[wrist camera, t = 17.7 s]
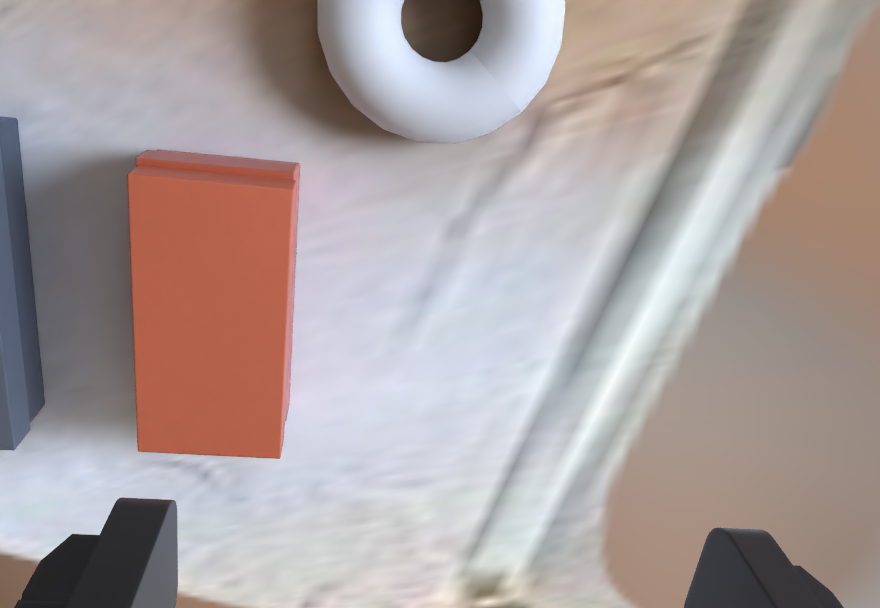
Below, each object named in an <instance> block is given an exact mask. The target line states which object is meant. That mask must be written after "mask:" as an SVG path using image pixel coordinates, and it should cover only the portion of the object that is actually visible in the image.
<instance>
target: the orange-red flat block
mask: <svg viewBox="0 0 880 608" xmlns="http://www.w3.org/2000/svg"><path fill="white" fill-rule="evenodd" d="M139 165H146V166H156V167H166V168H177V169H187V170H197V171H207V172H217V173H227V174H238V175H248V176H258V177H268V178H278V179H289V180H295V181H296V201H295V221H294V241H293V262H292V282H291V302H290V322H289V342H288V362H287V382H286V402H285V421H286V419H287V413H288V408H289V398H290V376H291V354H292V332H293V310H294V288H295V266H296V244H297V222H298V200H299V179H300V164H299V163H292V162H281V161H271V160H260V159H250V158H239V157H229V156H219V155H208V154H198V153H187V152H177V151H166V150H156V151H152V150H146V151H145V152H144V153H142V154H141V155H139V156H138V157H137V158H136V167H137V166H139ZM284 425H285V423H284Z"/></svg>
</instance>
